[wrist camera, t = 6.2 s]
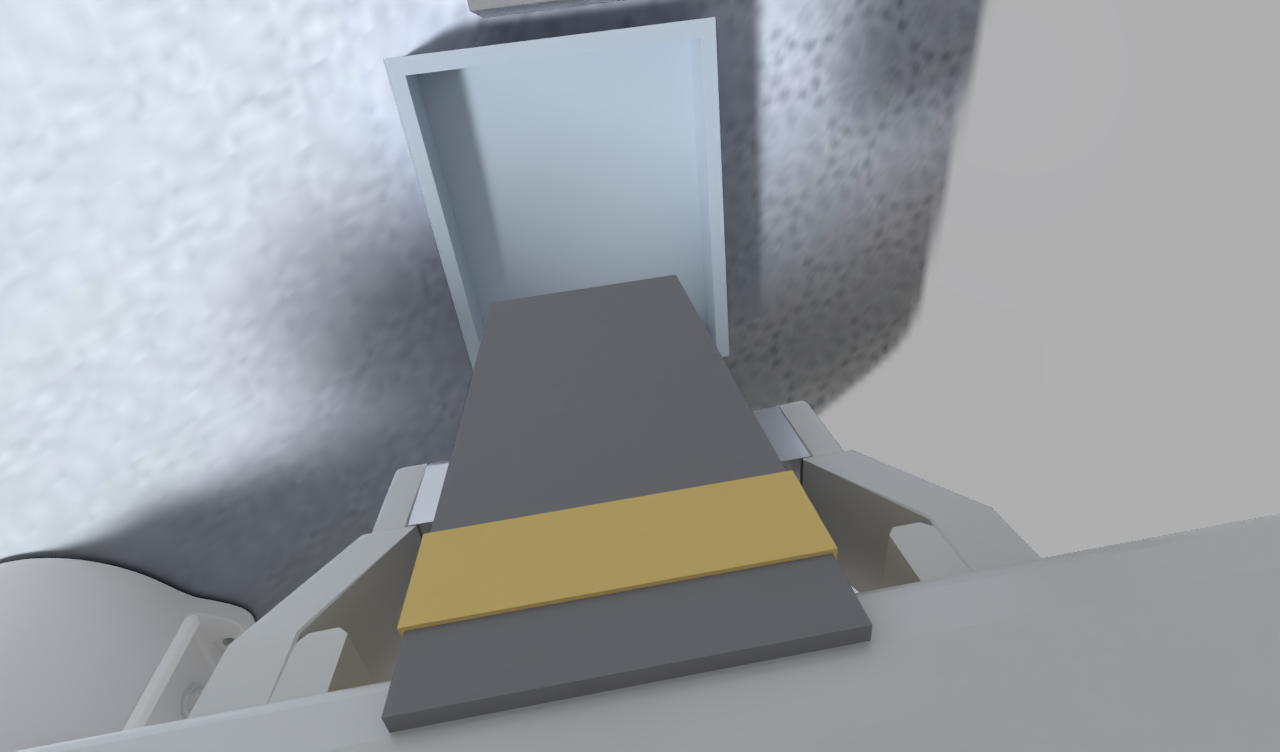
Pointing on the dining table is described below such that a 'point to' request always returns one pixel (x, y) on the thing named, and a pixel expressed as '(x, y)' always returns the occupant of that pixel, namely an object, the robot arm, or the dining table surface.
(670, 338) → the plug
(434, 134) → the tray
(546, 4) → the double slot holder
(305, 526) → the dining table surface
